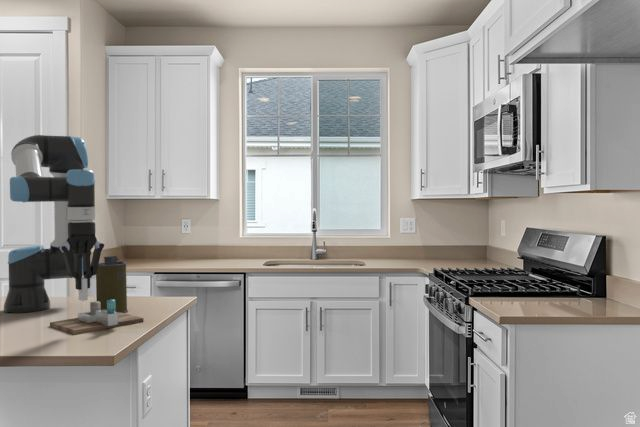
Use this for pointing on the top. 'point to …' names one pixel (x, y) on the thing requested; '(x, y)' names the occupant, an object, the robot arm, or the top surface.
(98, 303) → the board
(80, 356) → the top surface
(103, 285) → the canister
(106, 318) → the square loop handle
